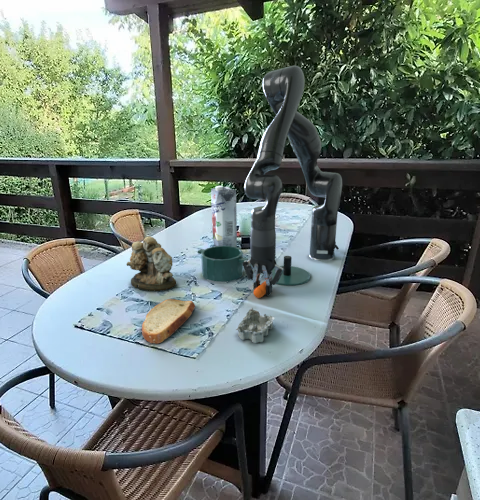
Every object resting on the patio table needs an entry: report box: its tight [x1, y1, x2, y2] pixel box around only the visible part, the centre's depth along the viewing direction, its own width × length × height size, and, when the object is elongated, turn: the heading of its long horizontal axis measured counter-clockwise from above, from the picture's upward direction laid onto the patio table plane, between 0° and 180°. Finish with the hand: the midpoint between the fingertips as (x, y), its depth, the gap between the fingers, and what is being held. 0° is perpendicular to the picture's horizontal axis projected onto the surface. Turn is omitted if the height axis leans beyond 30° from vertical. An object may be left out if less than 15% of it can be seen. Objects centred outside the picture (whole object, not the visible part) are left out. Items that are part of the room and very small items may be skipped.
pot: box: [197, 245, 249, 283], centre depth 131 cm, size 15×20×8 cm
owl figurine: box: [126, 235, 177, 293], centre depth 125 cm, size 18×12×17 cm, turn 69°
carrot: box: [253, 280, 266, 299], centre depth 115 cm, size 11×3×3 cm, turn 145°
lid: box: [272, 255, 311, 287], centre depth 127 cm, size 16×16×8 cm
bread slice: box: [141, 298, 196, 345], centre depth 103 cm, size 18×18×4 cm
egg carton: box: [235, 307, 275, 344], centre depth 96 cm, size 11×8×4 cm
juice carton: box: [210, 185, 238, 247], centre depth 155 cm, size 9×10×27 cm
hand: (262, 293), depth 115 cm, fingers closed on carrot, 3 cm apart
